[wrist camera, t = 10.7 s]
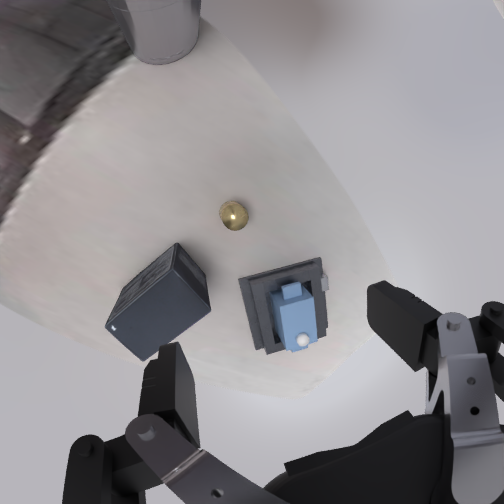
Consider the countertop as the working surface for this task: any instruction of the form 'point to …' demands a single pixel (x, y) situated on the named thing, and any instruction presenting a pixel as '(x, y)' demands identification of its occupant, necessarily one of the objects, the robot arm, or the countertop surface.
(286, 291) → the servo
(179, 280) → the small box
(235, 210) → the cylinder
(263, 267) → the countertop surface
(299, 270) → the frame
